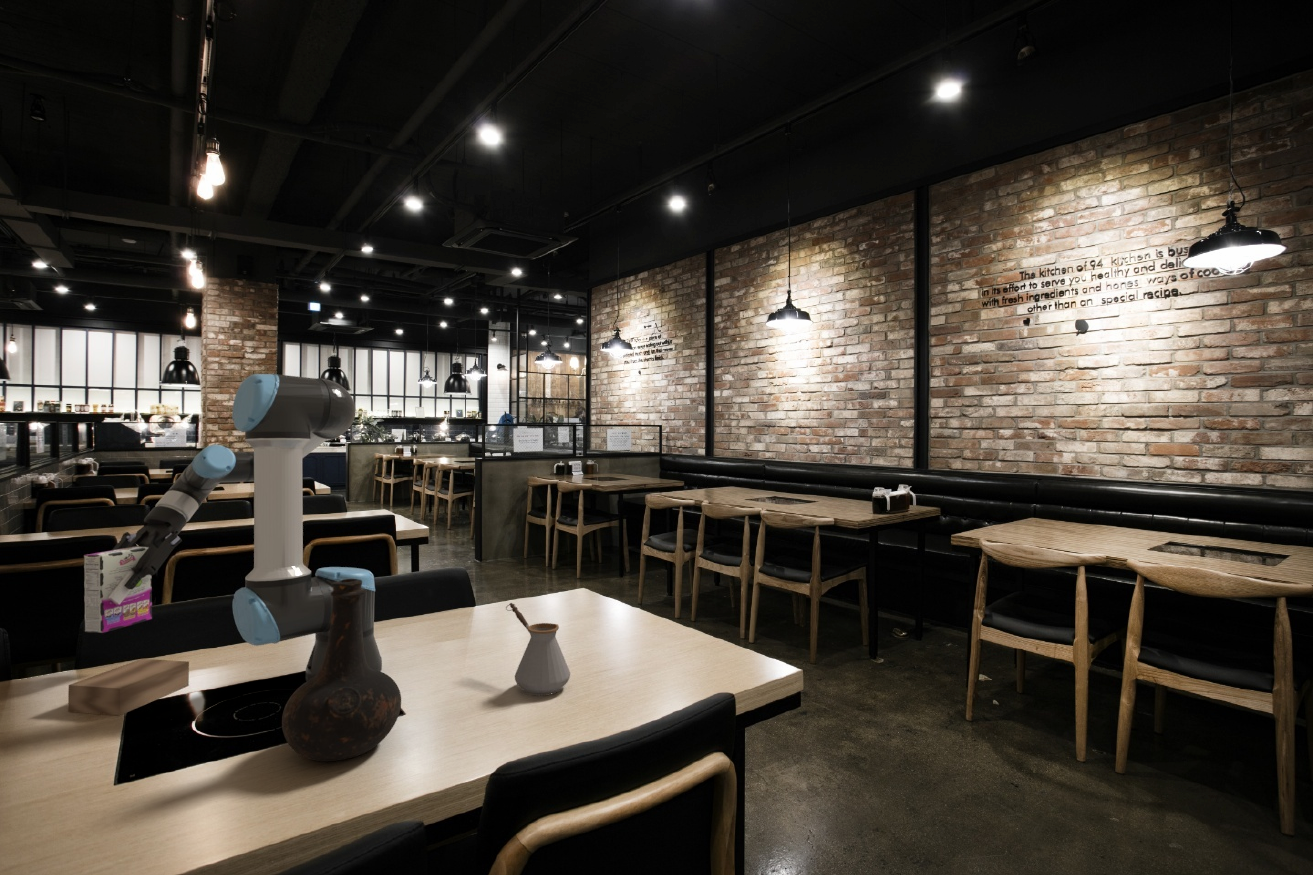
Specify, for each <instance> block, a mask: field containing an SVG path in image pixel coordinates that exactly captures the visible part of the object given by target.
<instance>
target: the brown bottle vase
mask: <svg viewBox="0 0 1313 875" xmlns="http://www.w3.org/2000/svg"><path fill="white" fill-rule="evenodd" d="M361 586H362V580H359V579H344V580H341V581H338V582H334V583H333V591H332V593H331V596H333V606H332V615H331V625H330V632H329V638H328V644H327V649H326V654H325V657H324V661H323V664H322V666H321V669H320V671H319V672H318V674H317V675H316V676H315V677H313V678H312V679H310V680H309V681H306V682H304V683H302V684H301V685H300V686H299V687H298V688H297V689H296V690H295V691H293V693H292V694H291V695H290V697H289V698H288V700H287V702H286V704H285V706H284V708H283V712H282V716H281V727H282V732H283V736H284V739H285V741H286V743H287V744H288V746H289V747H291V749H292V750H293V751H294V752H295V753H296V754H298V755H299V756H301V757H303V758H305V759H308V760H312V761H317V762H335V761H341V760H347V759H352V758H355V757H358V756H360V755H363V754H365V753H368V752H369V751H371V750H372V749H374V748H375V747H377V746H378V745H379V744H380V743H381V742H383V740H385V738H386V737H387V736H388V735H389V734H390V733H391V730H392V729H393V727H394V726H395V725H396V722H397V720H398V717H399V715H400V713H401V707H402V694H401V690H400V688H399V686H398V684H397V682H396V681H395V680H394V679H393V678H392V677H391V676H390V675H388V674H386V673H385V672H382V670H381V671H378V670H375V669H371V668H369V666H368V664H367V662H366V658H365V653H364V645H363V633H362V610H361V595H362V594H365V593H366V592H367V590H366V589H364V588H361Z"/></svg>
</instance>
